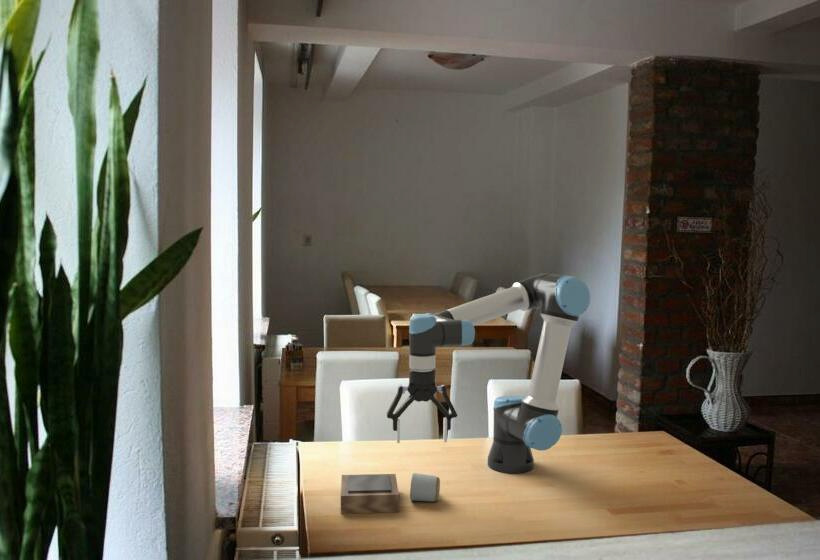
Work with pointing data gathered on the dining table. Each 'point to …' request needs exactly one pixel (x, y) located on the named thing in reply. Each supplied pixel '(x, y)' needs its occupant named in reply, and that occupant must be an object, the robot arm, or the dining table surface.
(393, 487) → the walnut base
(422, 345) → the robot arm
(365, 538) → the dining table surface
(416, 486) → the ceramic mug
